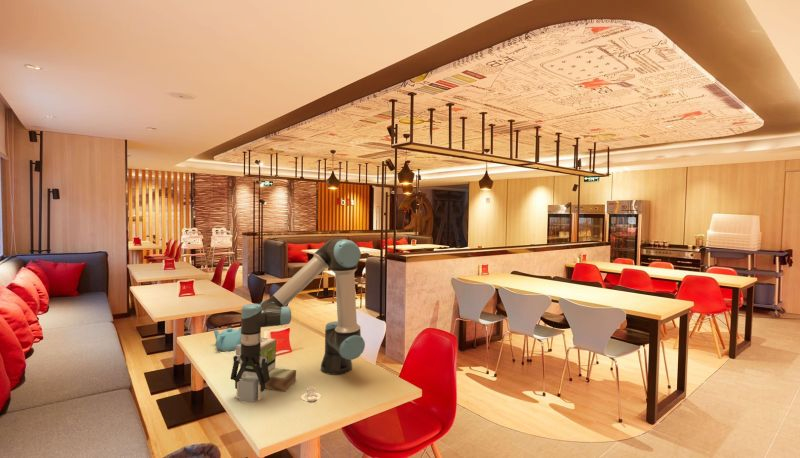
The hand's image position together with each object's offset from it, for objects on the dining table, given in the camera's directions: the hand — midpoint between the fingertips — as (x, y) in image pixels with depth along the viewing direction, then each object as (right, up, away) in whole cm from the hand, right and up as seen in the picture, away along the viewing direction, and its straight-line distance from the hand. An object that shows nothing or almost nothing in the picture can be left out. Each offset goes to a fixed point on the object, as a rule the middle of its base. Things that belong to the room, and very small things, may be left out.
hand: (249, 397), depth 164 cm
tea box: (-5, +1, +25) cm, 26 cm away
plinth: (+8, 0, +13) cm, 15 cm away
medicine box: (-17, +2, +40) cm, 44 cm away
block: (0, 0, 0) cm, 0 cm away
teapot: (-33, +3, +58) cm, 67 cm away
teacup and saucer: (+22, -2, +1) cm, 22 cm away
